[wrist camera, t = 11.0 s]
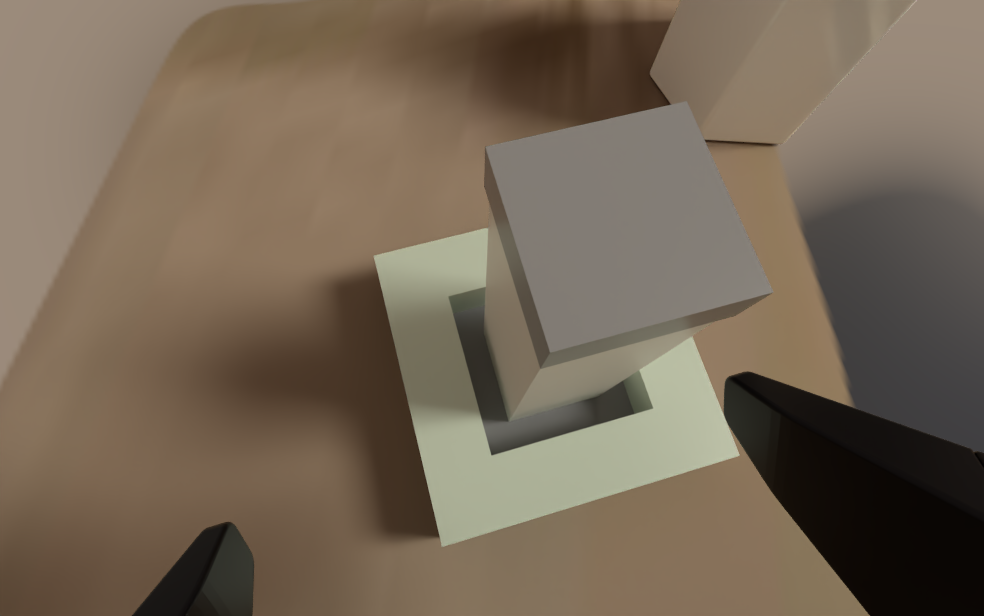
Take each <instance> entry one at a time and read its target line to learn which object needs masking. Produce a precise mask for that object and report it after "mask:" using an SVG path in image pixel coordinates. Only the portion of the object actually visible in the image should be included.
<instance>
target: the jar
mask: <svg viewBox="0 0 984 616" xmlns="http://www.w3.org/2000/svg"><path fill="white" fill-rule="evenodd" d="M916 1H917V0H680V2H679V4H678V7H677V9H676V11H675V14H674V16H673V18H672V21H671V23H670V25H669V28H668V30H667V32H666V35H665V37H664V39H663V42H662V44H661V46H660V49H659V51H658V53H657V56H656V58H655V61H654V63H653V65H652V68H651V70H650V76H651V77H652V79H653V80H654V82H655V83H656V84H657V86H658V87H659V89H660V90H661V91H662V93H663V94H664V96H665V97H666V98H667V100H668V101H669V103H670V104H671V105H672V104H676V103H681V102H685V101H687V102H688V105H689V107H690V109H691V111H692V113H693V116H694V118H695V120H696V122H697V125H698V127H699V129H700V131H701V133H702V136H703V138H704V140H717V141H735V142H752V143H769V144H783V143H785V142H786V141H787V140H788V139H789V138H790V137H791V136H792V134H793V133H794V132H795V131H796V130H797V129H798V128H799V127H800V126H801V125H802V124H803V122H805V120H806V119H807V118H808V117H809V116H810V115H811V114H812V113H813V112H814V111H815V109H817V108H818V106H819V105H820V104H821V103H822V102H823V101H824V100H825V99H826V98H827V97H828V96H829V95H830V93H831V92H832V91H833V90H834V89H835V88H836V87H837V86H838V85H839V84H840V83H841V82H842V81H843V79H844V78H845V77H846V76H847V75H848V74H849V73H850V72H851V71H852V70H853V69H854V68H855V66H856V65H857V64H858V63H859V62H860V61H861V60H862V59H863V58H864V57H865V56H866V55H867V54H868V53H869V51H870V50H871V49H872V48H873V47H874V46H875V45H876V44H877V43H878V42H879V41H880V40H881V39H882V37H883V36H884V35H885V34H886V33H887V32H888V31H889V30H890V29H891V28H892V27H893V26H894V24H895V23H896V22H897V21H898V20H899V19H900V18H901V17H902V16H903V15H904V14H905V13H906V11H907V10H908V9H909V8H910V7H911V6H912V5H913V4H914V3H915V2H916Z"/></svg>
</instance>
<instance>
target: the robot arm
mask: <svg viewBox="0 0 984 616" xmlns="http://www.w3.org/2000/svg"><path fill="white" fill-rule="evenodd" d="M724 416H725V419H726V421H727V423H728V425H729V427H730V428H731V430H732V431H733V433H734V434H735V436H736V438H737V439H738V441H739V442H740V444H741V445H742V447H743V448H744V450H745V452H746V453H747V455H748V456H749V458H750V459H751V461H752V463H753V464H754V466H755V467H756V469H757V470H758V472H759V473H760V475H761V477H762V478H763V480H764V481H765V483H766V484H767V486H768V487H769V489H770V490H771V492H772V493H773V494H774V496H775V497H776V498H777V500H778V501H779V502H780V503H781V505H782V506H783V507H784V509H785V510H786V511H787V512H788V514H789V515H790V516H791V517H792V519H793V520H794V521H795V522H796V524H797V525H798V526H799V527H800V529H801V530H802V531H803V532H804V534H805V535H806V536H807V537H808V539H809V540H810V541H811V542H812V544H813V545H814V546H815V547H816V549H817V550H818V551H819V552H820V554H821V555H822V556H823V557H824V559H825V560H826V561H827V562H828V564H829V565H830V566H831V567H832V569H833V570H834V571H835V572H836V574H837V575H838V576H839V577H840V579H841V580H842V581H843V582H844V584H845V585H846V586H847V588H848V589H849V590H850V591H851V593H852V594H853V595H854V596H855V598H856V599H857V600H858V601H859V603H860V604H861V605H862V606H863V608H864V609H865V610H866V611H867V613H868V614H869V615H870V616H984V453H982V452H979V451H976V452H973V450H972V449H970V448H967V447H964V446H961V445H958V444H955V443H953V442H950V441H947V440H944V439H941V438H939V437H936V436H933V435H930V434H927V433H924V432H921V431H919V430H916V429H913V428H910V427H907V426H904V425H901V424H898V423H896V422H893V421H890V420H887V419H884V418H881V417H879V416H876V415H873V414H870V413H867V412H864V411H861V410H858V409H856V408H853V407H850V406H847V405H844V404H841V403H838V402H836V401H833V400H830V399H827V398H824V397H821V396H818V395H816V394H813V393H810V392H807V391H804V390H801V389H798V388H795V387H793V386H790V385H787V384H784V383H781V382H778V381H775V380H773V379H770V378H767V377H764V376H761V375H758V374H755V373H752V372H742V373H739V374H735V375H732V376H729V377H728V378H727V379H726V381H725V389H724ZM253 582H254V560H253V556H252V553H251V551H250V549H249V547H248V546H247V544H246V542H245V541H244V539H243V537H242V536H241V534H240V532H239V531H238V529H237V528H236V526H235V525H234V524H233V523H231V522H225V523H221V524H218V525H215V526H211V527H208V528H206V529H205V530H203V531H202V532H201V533H200V535H199V536H198V537H197V538H196V539H195V541H194V542H193V543H192V544H191V545H190V547H189V548H188V549H187V550H186V551H185V553H184V554H183V555H182V556H181V557H180V559H179V560H178V561H177V562H176V563H175V565H174V566H173V567H172V568H171V569H170V571H169V572H168V573H167V574H166V575H165V577H164V578H163V579H162V580H161V581H160V583H159V584H158V585H157V586H156V587H155V589H154V590H153V591H152V592H151V593H150V595H149V596H148V597H147V598H146V599H145V601H144V602H143V603H142V604H141V605H140V607H139V608H138V609H137V610H136V611H135V613H134V614H133V615H132V616H252V612H253Z"/></svg>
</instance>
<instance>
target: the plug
mask: <svg viewBox="0 0 984 616" xmlns="http://www.w3.org/2000/svg"><path fill="white" fill-rule="evenodd" d="M484 187H485V190H486V194H487V197H488V200H489V222H488V245H487V268H486V291H485V315H484V336H485V339H486V343H487V346H488V350H489V353H490V357H491V360H492V364H493V367H494V371H495V375H496V378H497V382H498V385H499V389H500V392H501V396H502V399H503V403H504V406H505V410H506V414H507V417H508V421H513V420H516V419H520V418H523V417H527V416H530V415H534V414H538V413H541V412H545V411H548V410H552V409H555V408H559V407H562V406H566V405H570V404H573V403H577V402H580V401H584V400H587V399H591V398H594V397H598V396H600V395H601V394H603V393H604V392H606V391H608V390H609V389H611V388H612V387H614V386H615V385H617V384H618V383H620V382H622V381H623V380H625V379H626V378H628V377H629V376H631V375H632V374H634V373H636V372H637V371H639V370H640V369H642V368H643V367H645V366H646V365H648V364H650V363H651V362H653V361H654V360H656V359H657V358H659V357H660V356H662V355H664V354H665V353H667V352H668V351H670V350H671V349H673V348H674V347H676V346H678V345H679V344H681V343H682V342H684V341H685V340H687V339H688V338H690V337H692V336H693V335H695V334H696V333H698V332H699V331H701V330H702V329H704V328H706V327H707V326H709V325H710V324H712V323H713V322H715V321H718V320H722V319H726V318H729V317H733V316H736V315H737V314H739V313H741V312H742V311H744V310H745V309H747V308H749V307H750V306H752V305H754V304H755V303H757V302H759V301H760V300H762V299H763V298H765V297H767V296H768V295H770V294H772V293H773V290H772V288H771V286H770V284H769V281H768V279H767V277H766V275H765V273H764V270H763V268H762V266H761V264H760V262H759V259H758V257H757V255H756V253H755V250H754V248H753V246H752V244H751V242H750V239H749V237H748V235H747V233H746V231H745V228H744V226H743V224H742V222H741V220H740V217H739V215H738V213H737V211H736V209H735V206H734V204H733V202H732V200H731V197H730V195H729V193H728V191H727V189H726V186H725V184H724V182H723V180H722V178H721V175H720V173H719V171H718V169H717V167H716V164H715V162H714V160H713V158H712V155H711V153H710V151H709V149H708V147H707V144H706V142H705V140H704V138H703V136H702V133H701V131H700V129H699V127H698V125H697V122H696V120H695V118H694V116H693V113H692V111H691V109H690V107H689V105H688V102H687V101H685V102H681V103H676V104H672V105H667V106H663V107H659V108H654V109H650V110H645V111H641V112H636V113H632V114H628V115H623V116H619V117H614V118H610V119H605V120H601V121H597V122H592V123H588V124H583V125H579V126H575V127H570V128H566V129H561V130H557V131H552V132H548V133H544V134H539V135H535V136H530V137H526V138H521V139H517V140H513V141H508V142H504V143H499V144H495V145H490V146H486V147H485V177H484Z"/></svg>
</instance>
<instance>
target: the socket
mask: <svg viewBox="0 0 984 616" xmlns="http://www.w3.org/2000/svg"><path fill="white" fill-rule="evenodd" d="M487 245H488V228H485V229H481V230H476V231H472V232H468V233H464V234H460V235H456V236H452V237H448V238H444V239H440V240H436V241H432V242H428V243H424V244H419V245H415V246H411V247H407V248H403V249H399V250H395V251H391V252H387V253H383V254H379V255H375V256H374V259H375V263H376V267H377V272H378V276H379V280H380V284H381V289H382V293H383V297H384V301H385V306H386V310H387V314H388V319H389V323H390V327H391V331H392V336H393V340H394V344H395V348H396V353H397V357H398V361H399V365H400V370H401V374H402V378H403V382H404V387H405V391H406V395H407V399H408V404H409V408H410V412H411V417H412V421H413V425H414V429H415V434H416V438H417V442H418V446H419V451H420V455H421V459H422V463H423V468H424V472H425V476H426V480H427V485H428V489H429V493H430V497H431V502H432V506H433V510H434V514H435V519H436V523H437V527H438V532H439V536H440V540H441V544H442V547H444V546H447V545H450V544H453V543H457V542H460V541H463V540H466V539H470V538H473V537H476V536H479V535H483V534H486V533H489V532H492V531H496V530H499V529H502V528H505V527H509V526H512V525H515V524H519V523H522V522H525V521H528V520H532V519H535V518H538V517H541V516H545V515H548V514H551V513H554V512H558V511H561V510H564V509H567V508H571V507H574V506H577V505H580V504H584V503H587V502H590V501H594V500H597V499H600V498H603V497H607V496H610V495H613V494H616V493H620V492H623V491H626V490H629V489H633V488H636V487H639V486H642V485H646V484H649V483H652V482H655V481H659V480H662V479H665V478H669V477H672V476H675V475H678V474H682V473H685V472H688V471H691V470H695V469H698V468H701V467H704V466H708V465H711V464H714V463H717V462H721V461H724V460H727V459H730V458H734V457H737V456H740V455H739V452H738V450H737V447H736V445H735V442H734V440H733V437H732V435H731V432H730V430H729V427H728V425H727V422H726V420H725V417H724V415H723V412H722V410H721V407H720V405H719V402H718V400H717V397H716V395H715V392H714V390H713V388H712V385H711V383H710V380H709V378H708V375H707V373H706V370H705V368H704V365H703V363H702V360H701V358H700V355H699V353H698V350H697V348H696V345H695V343H694V340H693V338H692V337H690V338H688V339H687V340H685V341H684V342H682V343H681V344H679V345H678V346H676V347H674V348H673V349H671V350H670V351H668V352H667V353H665V354H664V355H662V356H660V357H659V358H657V359H656V360H654V361H653V362H651V363H650V364H648V365H646V366H645V367H643V368H642V369H640V370H639V371H637V372H636V373H634V374H632V375H631V376H629V377H628V378H626V379H625V380H623V381H622V382H620V383H618V384H617V385H615V386H614V387H612V388H611V389H609V390H608V391H606V392H604V393H603V394H601V395H600V396H598V397H594V398H591V399H587V400H584V401H580V402H577V403H573V404H570V405H566V406H562V407H559V408H555V409H552V410H548V411H545V412H541V413H538V414H534V415H530V416H527V417H523V418H520V419H516V420H513V421H508V417H507V414H506V410H505V406H504V403H503V399H502V396H501V392H500V389H499V385H498V382H497V378H496V375H495V371H494V367H493V364H492V360H491V357H490V353H489V350H488V346H487V343H486V339H485V336H484V315H485V291H486V268H487Z"/></svg>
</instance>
